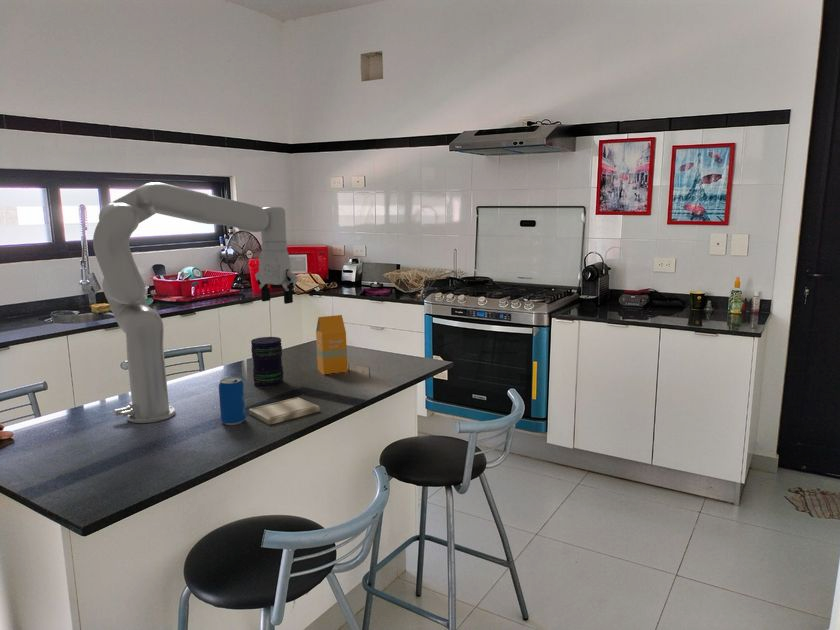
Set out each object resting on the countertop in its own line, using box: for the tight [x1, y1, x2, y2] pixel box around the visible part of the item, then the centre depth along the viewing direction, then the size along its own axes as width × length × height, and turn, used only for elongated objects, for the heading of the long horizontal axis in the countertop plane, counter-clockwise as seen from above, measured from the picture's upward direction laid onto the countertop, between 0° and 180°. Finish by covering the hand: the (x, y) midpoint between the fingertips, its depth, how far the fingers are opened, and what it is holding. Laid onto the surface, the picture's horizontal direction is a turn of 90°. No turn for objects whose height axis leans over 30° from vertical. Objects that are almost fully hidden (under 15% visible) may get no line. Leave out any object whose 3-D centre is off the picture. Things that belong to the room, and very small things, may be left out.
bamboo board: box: [248, 396, 320, 426], centre depth 179 cm, size 16×12×2 cm
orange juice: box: [315, 314, 348, 376], centre depth 220 cm, size 8×9×20 cm
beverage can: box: [218, 376, 247, 426], centre depth 171 cm, size 6×6×12 cm
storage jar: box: [250, 336, 284, 388], centre depth 207 cm, size 10×10×15 cm
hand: (277, 302), depth 195 cm, fingers open, 9 cm apart
